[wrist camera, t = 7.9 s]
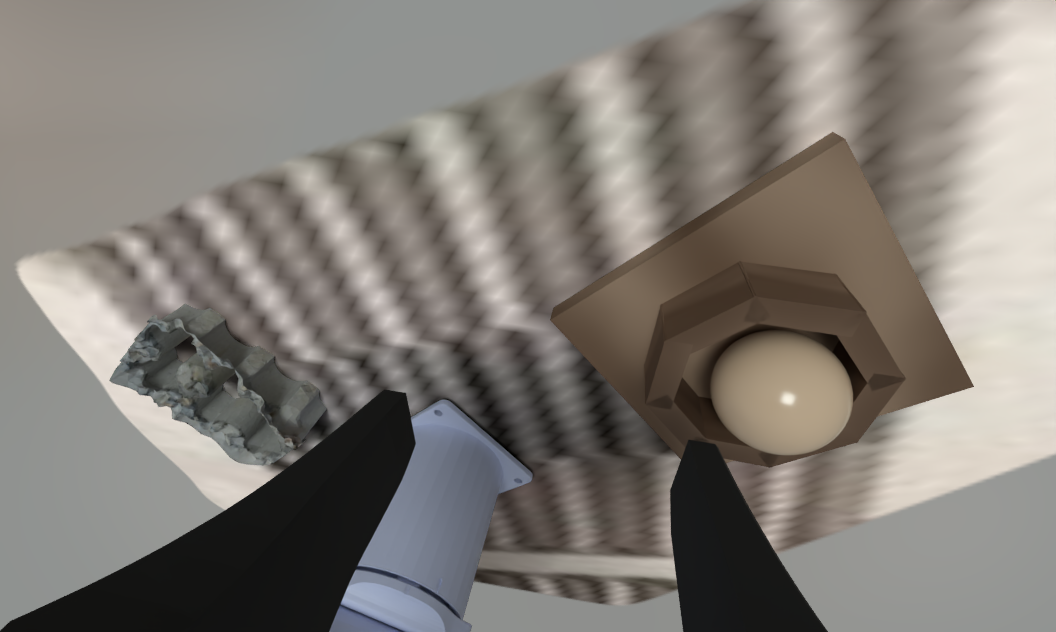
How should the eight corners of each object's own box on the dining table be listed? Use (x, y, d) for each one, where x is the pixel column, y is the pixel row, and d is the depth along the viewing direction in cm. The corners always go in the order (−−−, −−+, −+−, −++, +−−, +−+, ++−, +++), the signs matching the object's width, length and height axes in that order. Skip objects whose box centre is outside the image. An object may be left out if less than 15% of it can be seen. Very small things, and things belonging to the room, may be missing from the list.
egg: (723, 407, 20) (776, 497, 16) (672, 351, 18) (718, 440, 14) (821, 353, 18) (904, 439, 14) (776, 285, 16) (861, 365, 12)
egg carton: (345, 402, 28) (307, 454, 24) (289, 438, 31) (250, 487, 28) (197, 283, 24) (129, 325, 21) (154, 340, 28) (90, 383, 25)
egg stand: (691, 457, 24) (699, 516, 21) (553, 307, 20) (540, 355, 17) (958, 369, 18) (1020, 436, 15) (832, 131, 14) (883, 160, 11)
